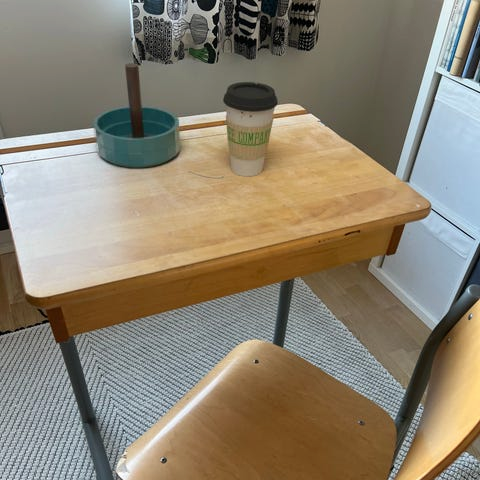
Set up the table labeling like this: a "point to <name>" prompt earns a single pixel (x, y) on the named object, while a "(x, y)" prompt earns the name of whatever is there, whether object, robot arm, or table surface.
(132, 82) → the brown pestle
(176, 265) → the table surface
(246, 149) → the coffee cup
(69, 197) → the table surface
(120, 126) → the bowl
